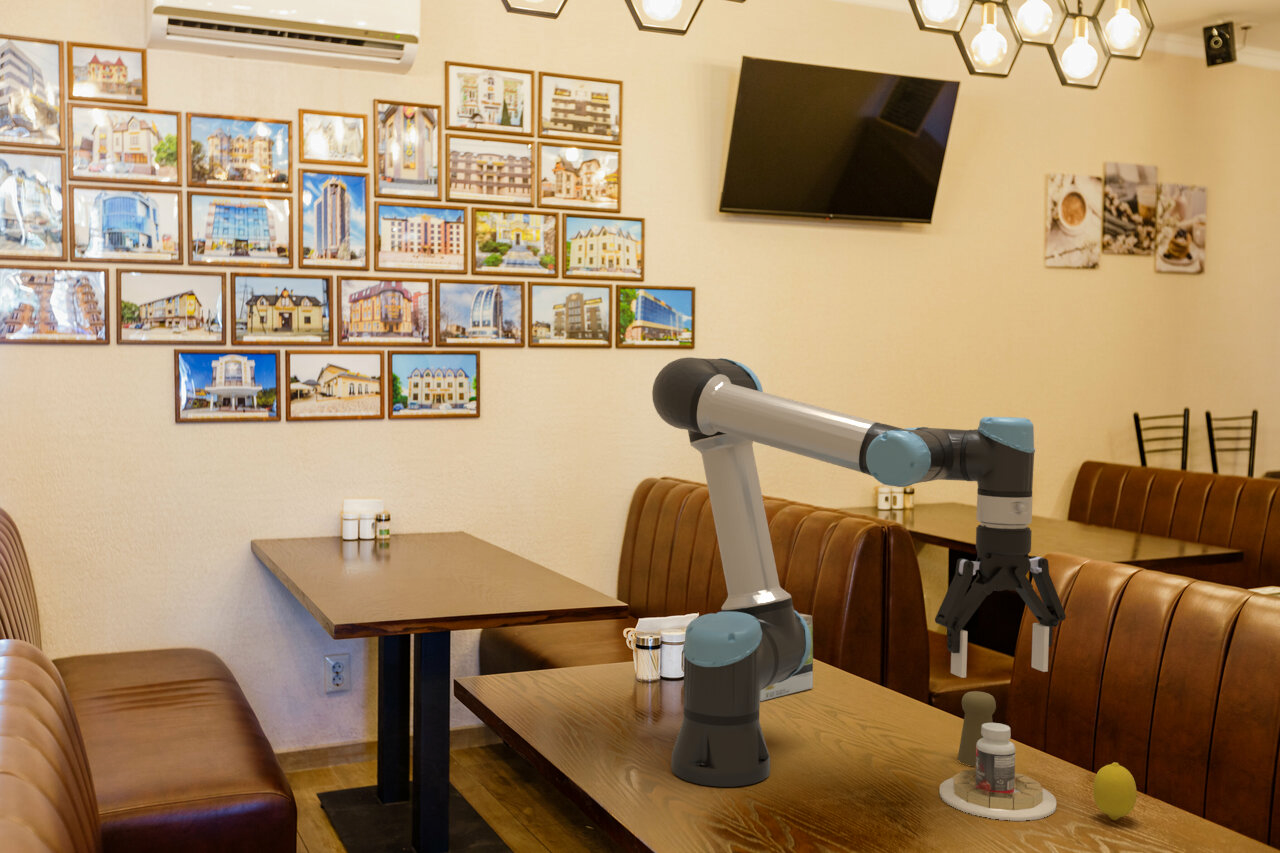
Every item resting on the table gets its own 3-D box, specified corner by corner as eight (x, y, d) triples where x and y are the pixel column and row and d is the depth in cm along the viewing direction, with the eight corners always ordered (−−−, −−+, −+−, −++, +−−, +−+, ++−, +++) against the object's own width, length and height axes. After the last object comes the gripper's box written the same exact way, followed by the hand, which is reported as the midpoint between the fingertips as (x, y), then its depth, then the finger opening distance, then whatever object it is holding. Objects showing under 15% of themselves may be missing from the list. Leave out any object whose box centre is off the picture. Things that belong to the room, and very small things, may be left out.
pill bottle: (967, 788, 162) (969, 722, 162) (1000, 785, 164) (1002, 719, 163) (988, 801, 157) (990, 733, 157) (1021, 799, 158) (1023, 730, 158)
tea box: (776, 679, 226) (777, 606, 225) (814, 690, 218) (815, 615, 217) (722, 691, 216) (724, 615, 215) (760, 703, 208) (761, 624, 208)
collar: (986, 813, 153) (986, 802, 153) (937, 783, 164) (937, 772, 164) (1059, 804, 156) (1059, 793, 156) (1007, 776, 168) (1007, 765, 168)
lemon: (1085, 819, 153) (1087, 762, 153) (1102, 809, 157) (1103, 753, 157) (1126, 831, 149) (1127, 772, 149) (1142, 820, 153) (1144, 763, 153)
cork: (966, 752, 181) (968, 685, 181) (1003, 761, 177) (1004, 692, 177) (951, 762, 176) (952, 693, 176) (988, 770, 172) (990, 700, 172)
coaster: (982, 826, 150) (982, 820, 150) (918, 785, 165) (918, 780, 165) (1081, 814, 155) (1081, 808, 155) (1009, 775, 170) (1010, 770, 170)
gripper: (942, 530, 152) (938, 684, 152) (1094, 526, 159) (1089, 673, 160) (913, 523, 159) (909, 671, 159) (1059, 520, 166) (1055, 660, 167)
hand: (999, 672), depth 160 cm, fingers open, 13 cm apart
